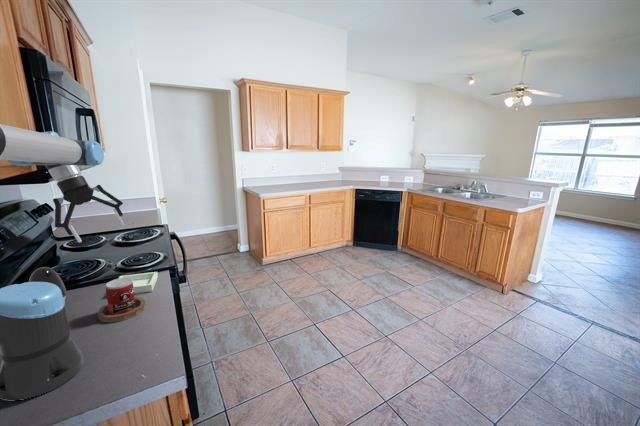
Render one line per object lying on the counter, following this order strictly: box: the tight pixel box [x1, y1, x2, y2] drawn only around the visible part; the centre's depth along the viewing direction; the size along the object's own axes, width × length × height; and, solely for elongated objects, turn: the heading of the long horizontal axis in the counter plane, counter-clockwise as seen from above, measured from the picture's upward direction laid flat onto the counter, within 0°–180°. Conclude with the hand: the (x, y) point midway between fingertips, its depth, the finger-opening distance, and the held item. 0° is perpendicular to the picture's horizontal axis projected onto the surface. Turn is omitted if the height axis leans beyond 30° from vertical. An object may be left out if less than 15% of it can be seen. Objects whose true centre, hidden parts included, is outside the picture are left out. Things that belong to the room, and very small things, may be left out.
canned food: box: [105, 277, 136, 315], centre depth 96 cm, size 8×8×11 cm
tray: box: [117, 271, 159, 295], centre depth 115 cm, size 14×14×3 cm
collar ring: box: [96, 296, 147, 323], centre depth 97 cm, size 13×13×2 cm
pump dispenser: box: [28, 266, 67, 300], centre depth 98 cm, size 10×10×15 cm
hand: (102, 233), depth 101 cm, fingers open, 13 cm apart
